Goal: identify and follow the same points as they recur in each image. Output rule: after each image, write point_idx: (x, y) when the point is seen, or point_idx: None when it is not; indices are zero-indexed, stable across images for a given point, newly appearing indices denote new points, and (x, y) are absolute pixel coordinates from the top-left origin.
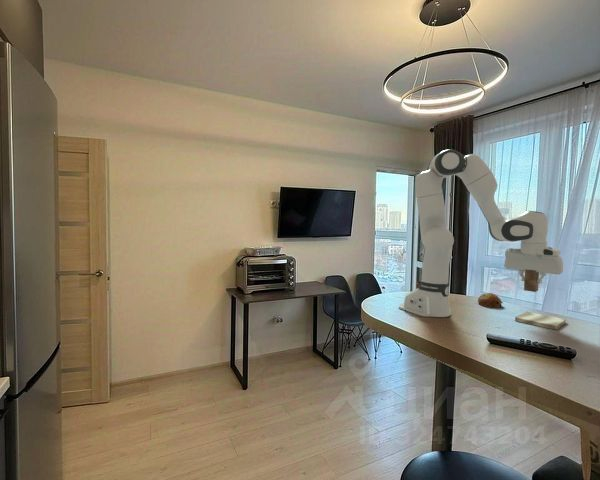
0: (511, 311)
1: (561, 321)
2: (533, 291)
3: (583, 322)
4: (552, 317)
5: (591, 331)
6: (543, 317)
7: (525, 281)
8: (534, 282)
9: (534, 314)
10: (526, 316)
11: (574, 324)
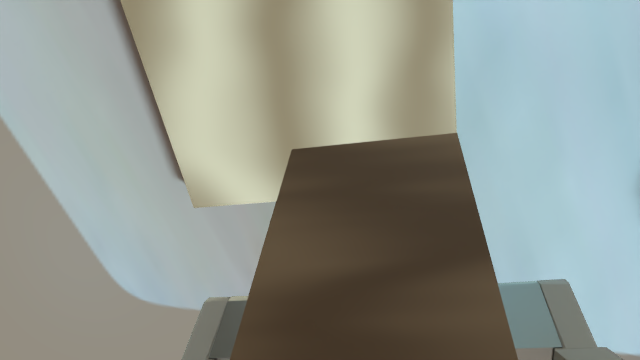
0: (574, 173)
1: (169, 121)
2: (315, 150)
3: (166, 285)
4: (260, 178)
5: (23, 128)
6: (293, 118)
7: (460, 235)
8: (283, 252)
9: None
10: (389, 17)
11: (158, 202)
